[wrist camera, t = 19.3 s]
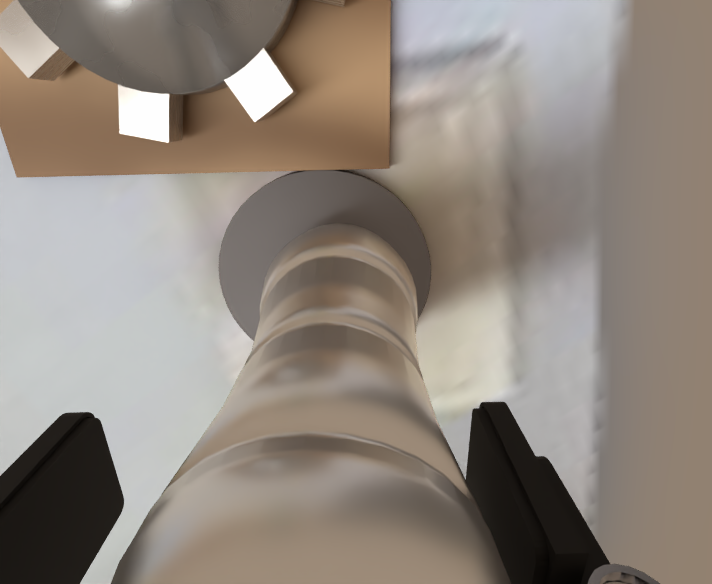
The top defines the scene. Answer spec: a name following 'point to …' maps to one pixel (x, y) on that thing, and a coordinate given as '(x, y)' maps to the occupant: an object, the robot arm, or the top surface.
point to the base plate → (220, 110)
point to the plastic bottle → (322, 445)
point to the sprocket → (157, 52)
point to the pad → (304, 212)
